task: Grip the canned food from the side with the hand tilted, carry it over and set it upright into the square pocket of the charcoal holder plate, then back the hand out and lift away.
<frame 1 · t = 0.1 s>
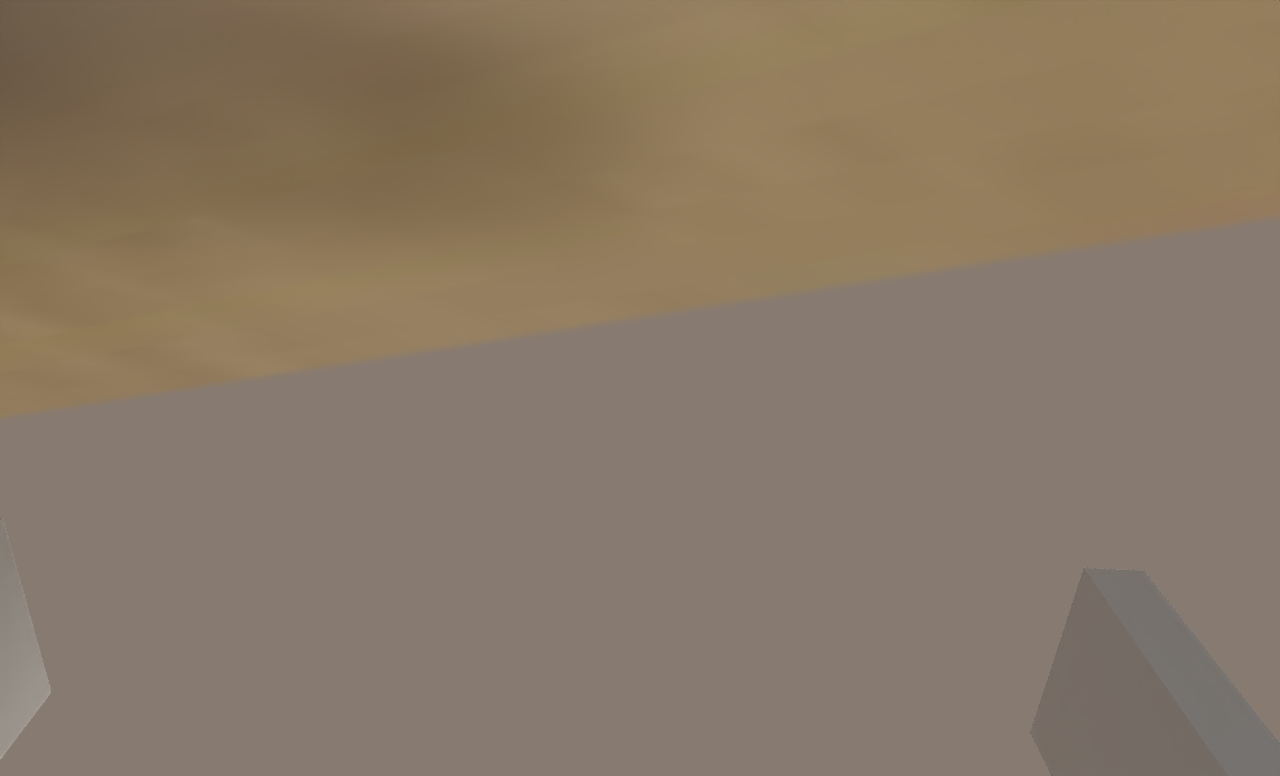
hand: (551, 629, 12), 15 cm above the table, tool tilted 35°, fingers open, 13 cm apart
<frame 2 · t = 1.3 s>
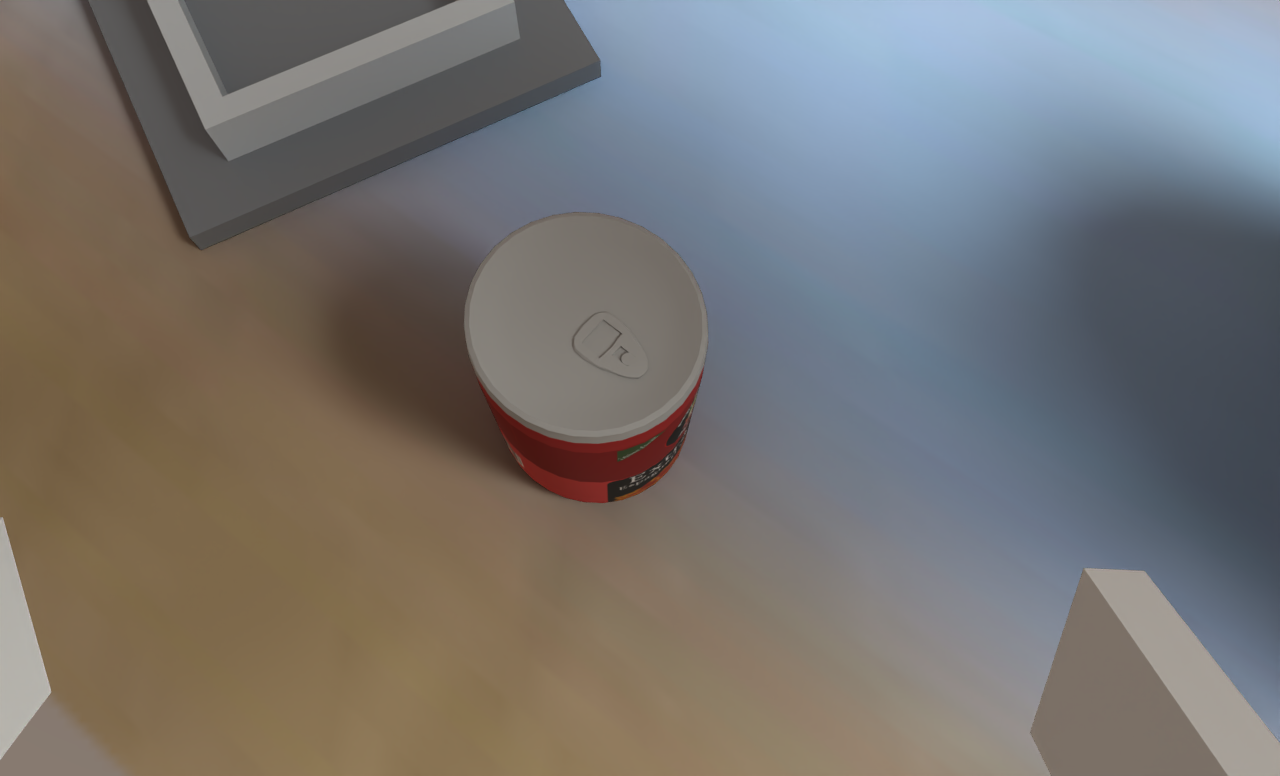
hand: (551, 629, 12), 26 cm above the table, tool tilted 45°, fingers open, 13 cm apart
end holder: (325, 0, 47), on the table
canned food: (594, 418, 41), on the table
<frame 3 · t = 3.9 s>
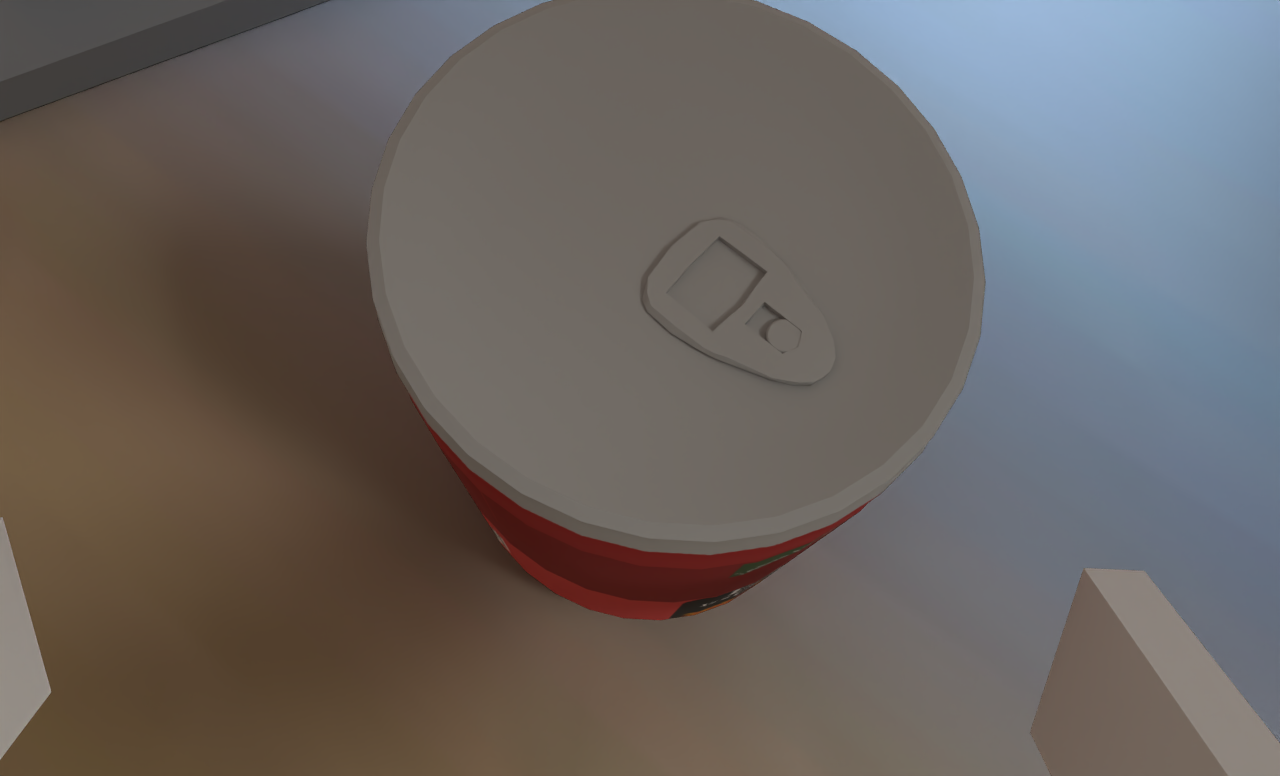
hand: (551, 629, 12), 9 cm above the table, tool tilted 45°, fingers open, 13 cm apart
canned food: (639, 455, 22), on the table
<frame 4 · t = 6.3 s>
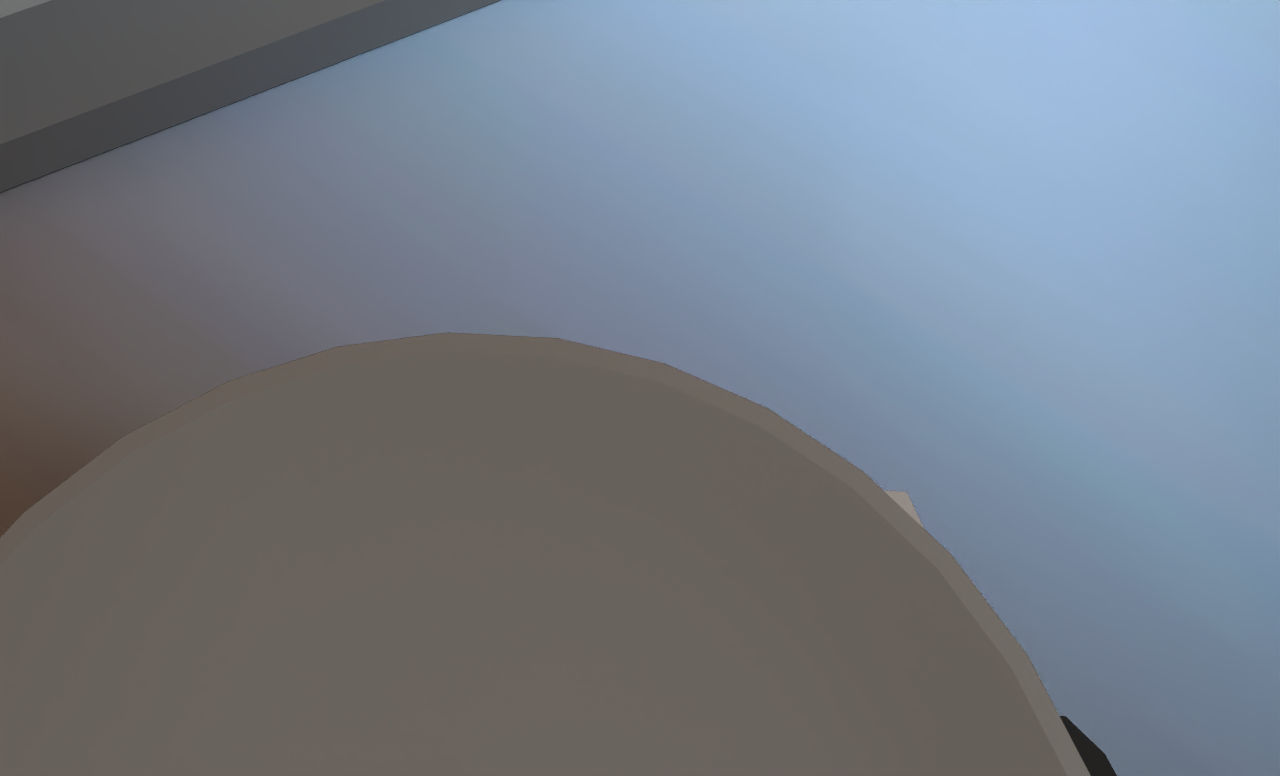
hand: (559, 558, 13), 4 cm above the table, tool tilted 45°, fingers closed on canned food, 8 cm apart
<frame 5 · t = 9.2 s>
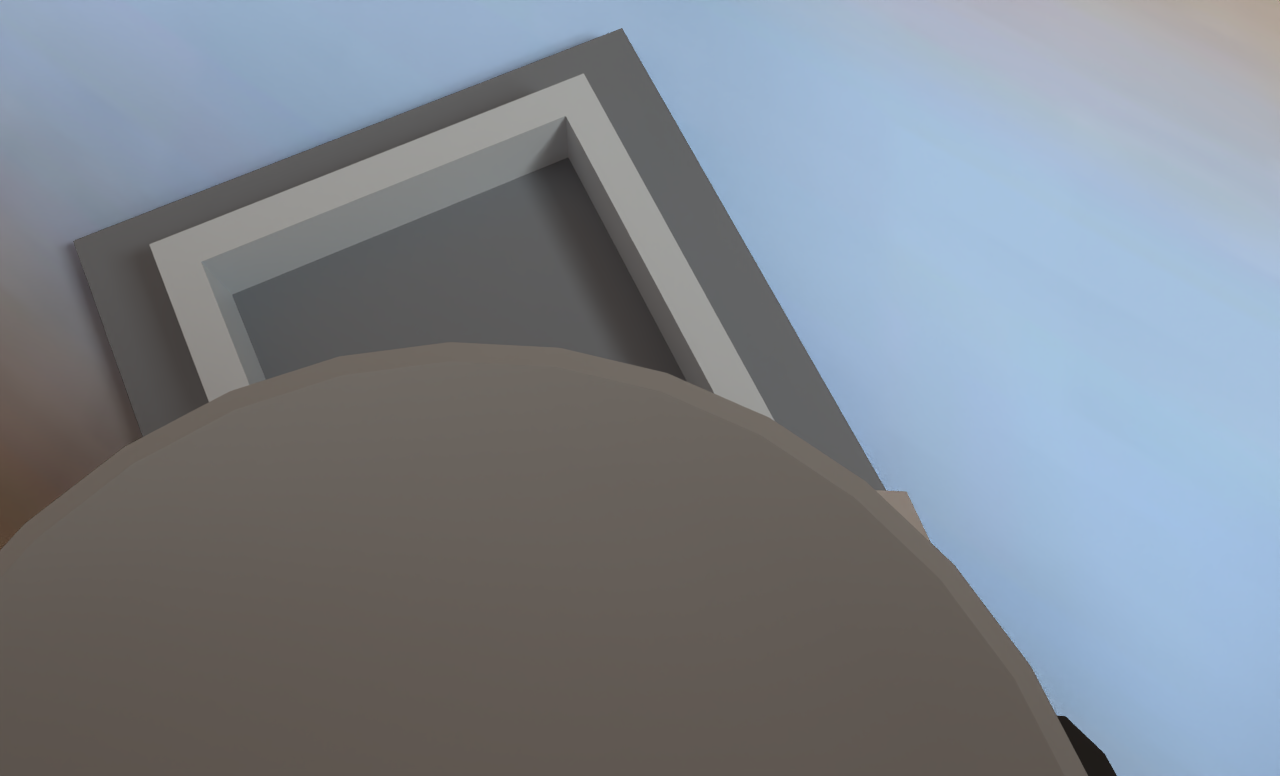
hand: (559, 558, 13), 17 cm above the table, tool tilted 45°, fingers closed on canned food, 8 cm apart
end holder: (481, 388, 32), on the table
when the fingers open (6 cm above the table, at t = 12.3 s): canned food drops 1 cm, resting on end holder.
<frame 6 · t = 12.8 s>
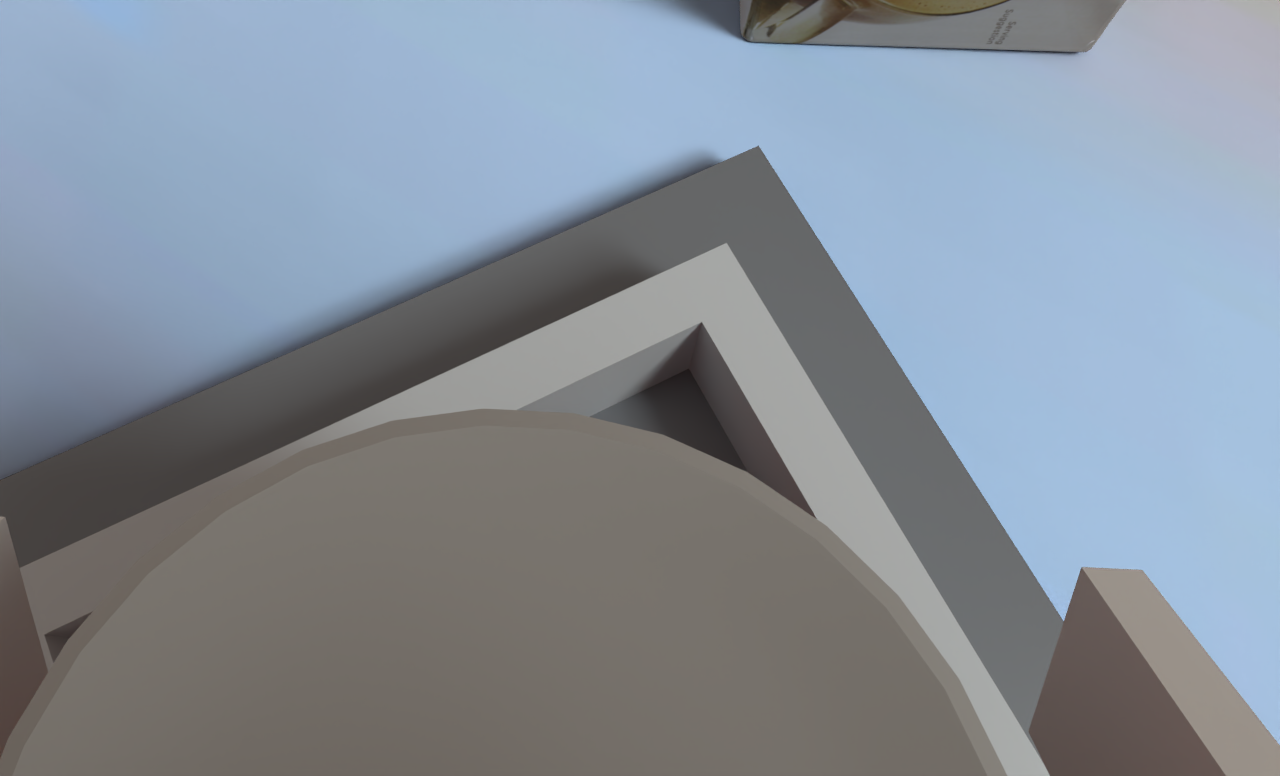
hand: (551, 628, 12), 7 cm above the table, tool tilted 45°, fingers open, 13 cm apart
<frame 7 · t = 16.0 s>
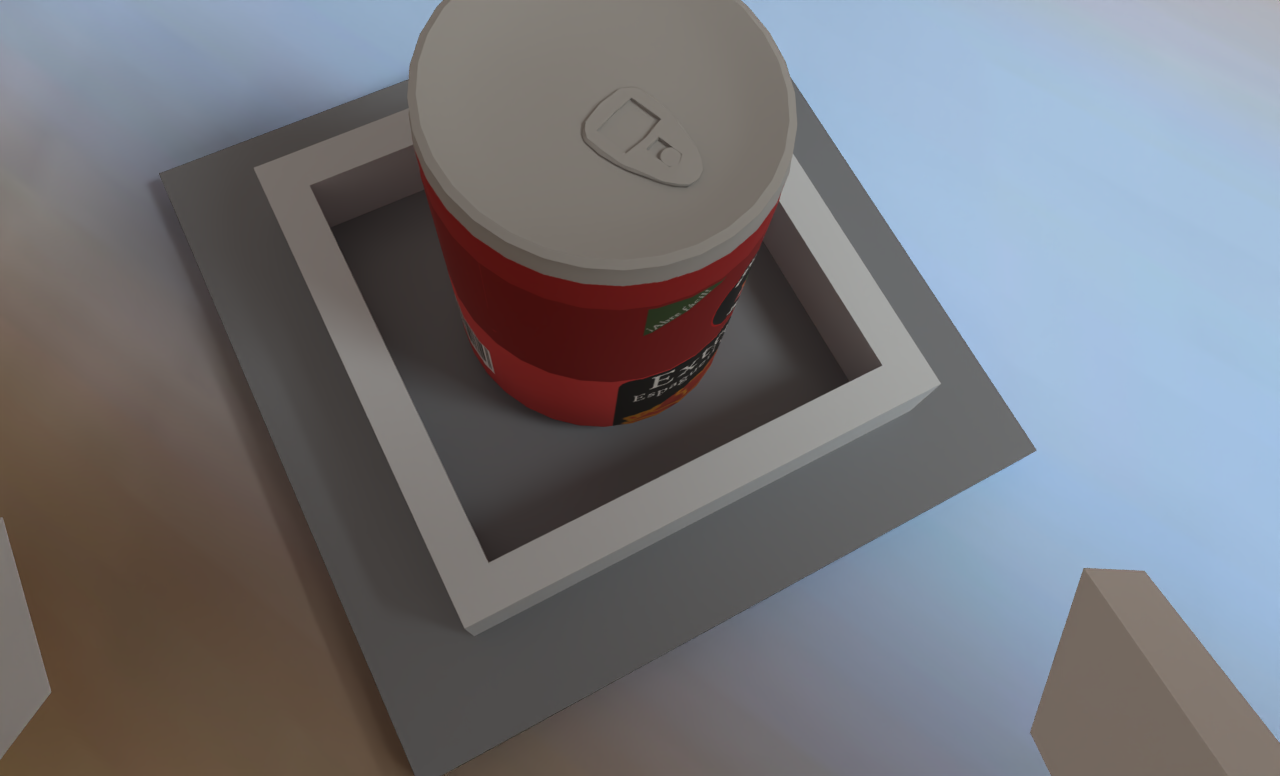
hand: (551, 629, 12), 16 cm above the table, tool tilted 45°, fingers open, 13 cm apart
end holder: (590, 324, 30), on the table
canned food: (592, 316, 29), point 1 cm above the table, touching end holder
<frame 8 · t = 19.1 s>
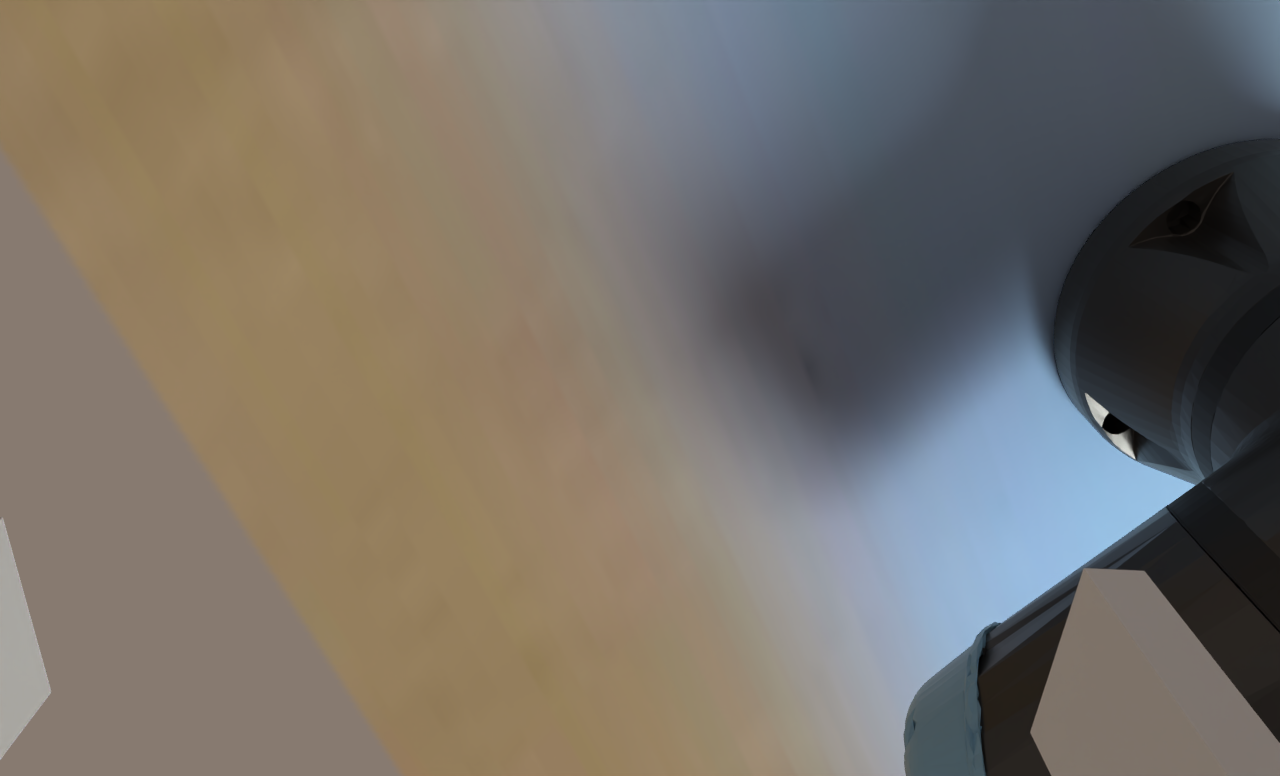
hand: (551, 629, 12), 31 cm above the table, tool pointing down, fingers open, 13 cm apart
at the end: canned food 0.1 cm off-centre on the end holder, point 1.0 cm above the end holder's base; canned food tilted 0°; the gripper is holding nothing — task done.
